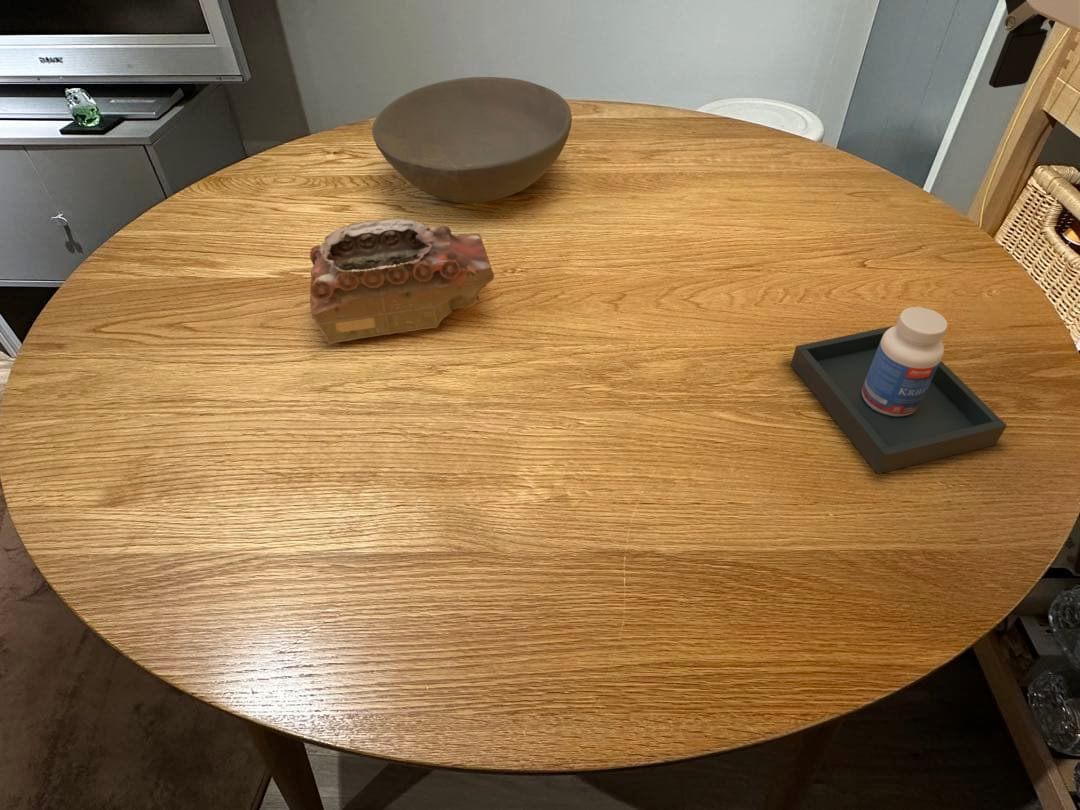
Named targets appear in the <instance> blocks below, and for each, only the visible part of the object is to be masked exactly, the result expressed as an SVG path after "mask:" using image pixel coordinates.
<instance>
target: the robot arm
mask: <svg viewBox="0 0 1080 810" xmlns="http://www.w3.org/2000/svg"><path fill="white" fill-rule="evenodd" d="M1004 2H1005V6H1006V11H1007V15H1006V17H1005V19H1004V21H1003V28H1004V30H1005V31H1007V32H1008V33H1007V35H1006V37H1005V40H1004V43H1003V45H1002V47H1001V50H1000V53H999V55H998V58H997V60H996V62H995V65H994V67H993V70H992V72H991V75H990V78H989V81H988V85H989V86H990V87H991V88H994V89H999V88H1004V87H1012V86H1019V85H1023V84H1027V82H1028V81H1029V79H1030V77H1031V75H1032V72H1033V70H1034V67H1035V65H1036V62H1037V60H1038V58H1039V56H1040V53H1041V51H1042V49H1043V46H1044V44H1045V42H1046V39H1047V35H1048V33H1049V30H1048V29H1046V28H1043V27H1044V26H1045V25H1046V24H1047V23H1049V22H1050V21H1053V22H1055V23H1058V24H1060V25H1062V26H1065V27H1067V28H1069V29H1071V30H1073V31H1076V32H1079V33H1080V0H1004Z"/></svg>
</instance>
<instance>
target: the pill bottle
mask: <svg viewBox="0 0 1080 810" xmlns="http://www.w3.org/2000/svg"><path fill="white" fill-rule="evenodd" d="M895 325H896V326H895ZM895 325H892V326H893V327H891V328H889V329H888V330H887V331H886V332H885V333H884V335H883V337H882V339H881V341H880V344H879V346H878V349H877V351H876V354H875V356H874V359H873V361H872V364H871V367H870V369H869V372H868V374H867V377H866V379H865V382H864V384H863V387H862V396H863V399H864V400H865V402H866V403H867V404H868V405H869V406H870V407H871V408H872V409H874V410H875V411H877V412H879V413H882V414H885V415H888V416H896V417H900V416H907V415H910V414H912V413H914V412H915V411H916V410H917V409H918V407H919V405H920V403H921V401H922V399H923V397H924V395H925V393H926V391H927V389H928V387H929V384H930V382H931V380H932V378H933V376H934V374H935V372H936V370H937V368H938V365H939V363H940V361H942V360H943V357H944V354H945V346H944V343H943V338H944V337H945V334H946V331H947V329H948V321H947V319H946V318H945V317H944V316H943V315H942V314H940V313H939V312H937V311H935V310H933V309H931V308H928V307H923V306H911V307H906V308H905V309H904V310H902V311H901V312H900V314H899V316H898V319H897V321H896V323H895Z"/></svg>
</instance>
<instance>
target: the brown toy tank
mask: <svg viewBox="0 0 1080 810" xmlns="http://www.w3.org/2000/svg"><path fill="white" fill-rule="evenodd" d="M323 241H324V242H322V243H321V244H317V245H315V246H313V247H311V248H310V252H309V259H310V261H311V263H312V268H311V269H310V285H309V286H310V290H309V292H310V296H309V302H310V304H309V305H310V314H311V315H310V316H311V319H312V320H314V322H315V324H316V325H317V327H318V328H319V330H320V332H321V333H322V334H323V338H324V340H325V341H326V342H327V343H328V344H330V345H332V344H335V343H341V342H348V341H355V340H359V339H365V338H373V337H379V336H384V335H385V336H386V335H388V336H389V335H392V334H399V333H406V332H414V331H420V330H427V329H434V328H436V329H437V328H438V327H439V326H440V323H441V322H442V320H443V319H444V318H447V317H448V316H449V315H450V314H452V312H453V310H456V309H463V308H469V307H471V306H474V305H475V304H476V303H477V302H478V301H480V296H479V294H480V292H481V291H482V289H483V288H485V287H487V285H488V284H490V283H491V282H492V281H494V278H495V274H494V271H493V269H492V265H491V263H490V259H489V256H488V254H487V251H486V250H487V249H486V248H485V246H484V242H483V239H482V235H480V233H467V234H466V233H465V234H458V235H454V234H452V229H450V227H449V226H448V225H447V224H440V225H437V226H430V227H429V226H427V225H425V223H424V222H420V221H418V220H415V219H409V218H406V217H405V218H402V217H391V218H380V219H376V220H364V221H360V222H355V223H352V224H349V225H343V226H342V227H339V228H338V229H335V230H334V231H331V232H330V233H329V234H328V235H326V236H325V237H324V240H323Z"/></svg>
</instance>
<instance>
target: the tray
mask: <svg viewBox="0 0 1080 810" xmlns="http://www.w3.org/2000/svg"><path fill="white" fill-rule="evenodd" d="M893 326H896V324H895V325H890V326H885V327H881V328H877V329H872V330H867V331H862V332H857V333H852V334H847V335H843V336H837V337H833V338H828V339H824V340H823V339H822V340H818V341H813V342H808V343H805V344H803V343H802V344H799V345H796V346H795V349H794V352H793V355H792V359H791V363H790V366H791V367H792V369H793V370H794V371H795V373H797V375H798V377H799V378H800V379H801V380H802V382H804V384H805V385H806V386H807V388H808V389H809V390H810V391H811V392H812V394H813V395H814V397H815V398H816V399H817V400H818V401H819V402H820V405H822V407H823V408H824V409H825V410H826V411H827V413H828V414H829V415H830V417H831V418H832V419H833V420H834V422H835V423H836V424H837V425H838V427H839V428H840V429H841V430H842V432H843V433H844V434H845V436H846V437H847V438H848V439H849V441H850V442H851V444H853V446H854V447H855V448H856V449H857V451H858V452H859V453H860V455H861V456H862V457H863V458H864V459H865V460H866V462H867V463H868V464H869V466H870V467H871V468H872V470H874V472H875V473H876V474H877V475H879V474H883V473H887V472H891V471H895V470H899V469H903V468H907V467H911V466H916V465H919V464H924V463H929V462H931V461H935V460H936V461H937V460H940V459H944V458H947V457H952V456H955V455H960V454H963V453H967V452H968V453H969V452H972V451H976V450H981V449H983V448H984V449H985V448H988V447H991V446H992V447H993V446H996V445H997V443H998V441H999V440H1000V438H1001V437H1002V435H1003V433H1004V432H1005V430H1006V428H1007V427H1008V425H1007V424H1006V423H1005V422H1004V421H1003V420H1002V419H1001V418H1000V417H999V416H998V415H997V414H996V413H995V412H994V411H993V410H992V409H991V408H990V406H989V407H988V405H987V404H986V403H985V402H984V401H983V400H982V399H981V398H979V396H978V395H977V394H976V393H975V392H974V391H973V390H971V388H969V387H968V385H966V384H965V383H964V382H963V381H962V380H961V378H960V377H958V376H957V374H955V373H954V372H953V371H952V370H951V369H950V368H949V367H948V366H947V365H946V364H945V363H944V362H943V361H942V360H941V361H940V363H939V365H938V368H937V370H936V372H935V374H934V376H933V378H932V380H931V382H930V384H929V387H928V389H927V391H926V393H925V395H924V397H923V399H922V401H921V403H920V405H919V407H918V409H917V410H916V411H915V412H914V413H912V414H910V415H907V416H900V417H896V416H888V415H885V414H882V413H879V412H877V411H875V410H874V409H872V408H871V407H870V406H869V405H868V404H867V403H866V402H865V400H864V399H863V396H862V387H863V384H864V382H865V379H866V377H867V374H868V372H869V369H870V367H871V364H872V361H873V359H874V356H875V354H876V351H877V349H878V346H879V344H880V341H881V339H882V337H883V335H884V333H885V332H886V331H887V330H888V329H889V328H891V327H893Z"/></svg>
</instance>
